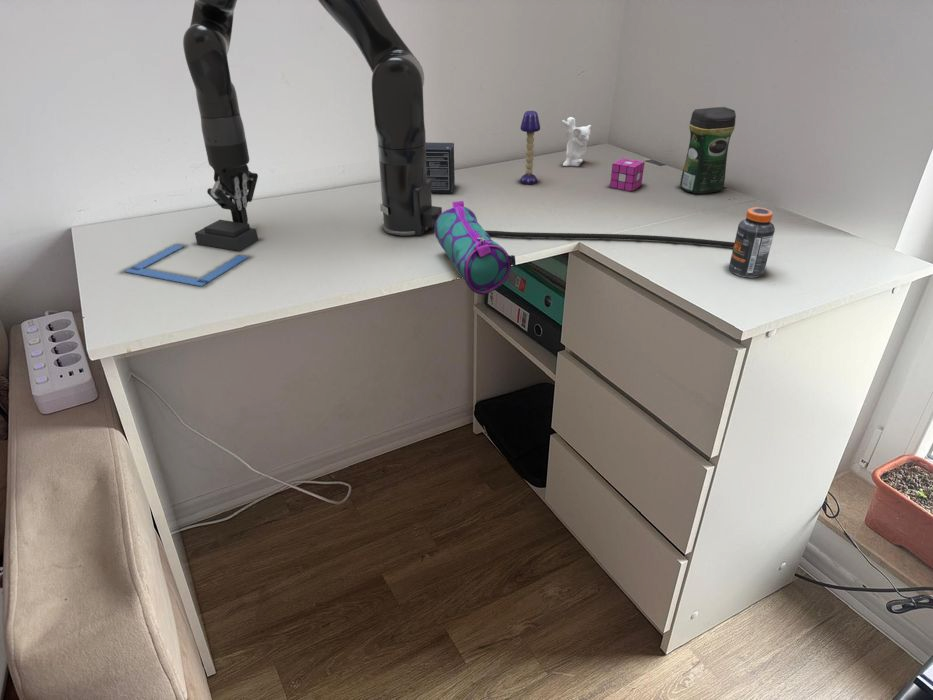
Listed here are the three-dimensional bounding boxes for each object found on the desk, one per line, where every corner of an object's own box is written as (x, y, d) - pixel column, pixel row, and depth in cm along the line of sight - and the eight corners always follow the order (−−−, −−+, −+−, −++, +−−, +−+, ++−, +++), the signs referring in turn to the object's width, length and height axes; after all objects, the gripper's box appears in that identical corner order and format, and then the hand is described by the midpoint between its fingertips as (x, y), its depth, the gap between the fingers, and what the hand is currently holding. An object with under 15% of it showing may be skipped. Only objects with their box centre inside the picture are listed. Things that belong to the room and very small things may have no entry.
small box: (455, 185, 160) (455, 141, 155) (452, 194, 155) (451, 149, 149) (412, 184, 161) (410, 140, 156) (407, 192, 156) (405, 147, 150)
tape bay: (248, 257, 124) (248, 256, 124) (201, 286, 114) (201, 285, 114) (175, 245, 129) (175, 244, 129) (124, 272, 119) (124, 271, 119)
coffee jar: (708, 182, 162) (723, 102, 152) (728, 192, 155) (745, 110, 146) (673, 185, 160) (686, 105, 150) (691, 196, 153) (706, 112, 143)
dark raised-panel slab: (258, 240, 132) (255, 223, 130) (239, 251, 127) (236, 234, 125) (217, 233, 135) (213, 217, 133) (197, 244, 130) (193, 227, 128)
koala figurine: (561, 168, 172) (565, 121, 166) (554, 161, 178) (557, 115, 171) (592, 167, 173) (597, 119, 167) (584, 159, 179) (589, 113, 172)
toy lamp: (538, 185, 160) (542, 114, 152) (518, 185, 160) (521, 114, 152) (536, 179, 164) (540, 109, 156) (517, 179, 164) (520, 109, 156)
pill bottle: (723, 265, 121) (736, 205, 115) (754, 263, 121) (769, 204, 115) (737, 279, 116) (751, 217, 110) (769, 277, 116) (786, 216, 110)
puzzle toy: (619, 181, 163) (622, 158, 160) (641, 185, 160) (644, 161, 157) (609, 187, 159) (612, 163, 156) (631, 191, 156) (634, 167, 153)
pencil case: (515, 292, 111) (517, 239, 106) (464, 300, 109) (464, 245, 104) (477, 246, 128) (477, 198, 123) (433, 252, 126) (431, 203, 121)
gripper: (218, 149, 118) (236, 240, 128) (262, 132, 129) (276, 217, 138) (184, 146, 121) (204, 235, 130) (231, 129, 131) (246, 213, 140)
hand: (241, 226), depth 134 cm, fingers closed
